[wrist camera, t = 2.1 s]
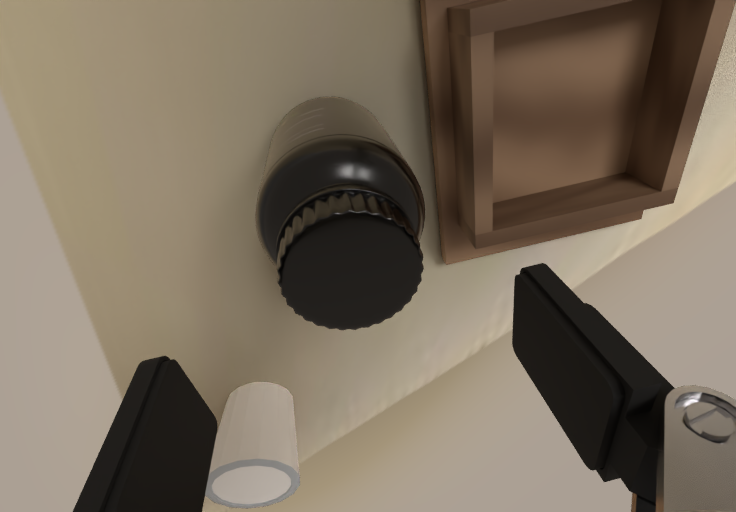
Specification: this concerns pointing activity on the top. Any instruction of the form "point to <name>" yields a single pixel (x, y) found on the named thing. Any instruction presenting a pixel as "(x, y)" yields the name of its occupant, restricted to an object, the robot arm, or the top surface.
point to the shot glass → (255, 448)
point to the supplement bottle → (340, 216)
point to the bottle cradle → (561, 112)
